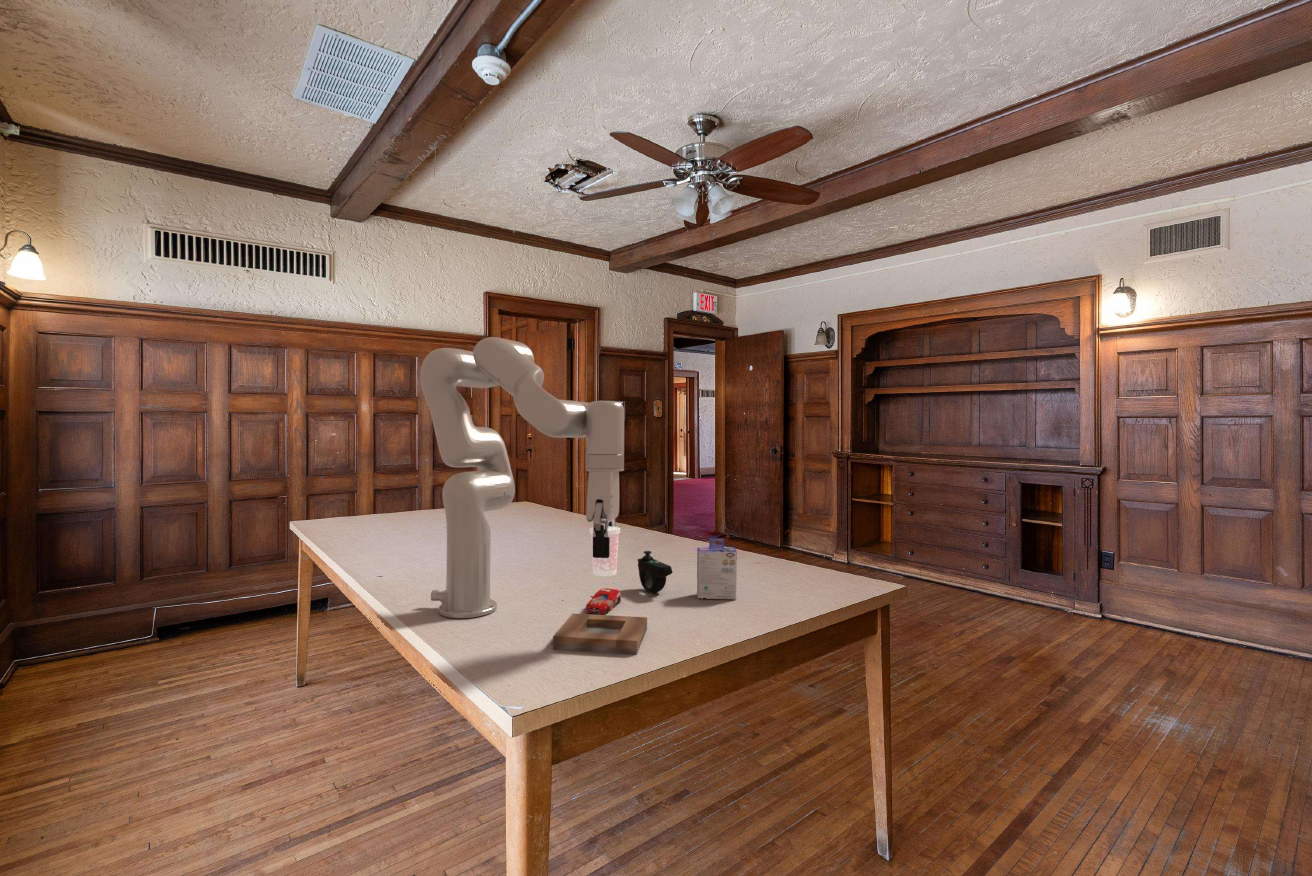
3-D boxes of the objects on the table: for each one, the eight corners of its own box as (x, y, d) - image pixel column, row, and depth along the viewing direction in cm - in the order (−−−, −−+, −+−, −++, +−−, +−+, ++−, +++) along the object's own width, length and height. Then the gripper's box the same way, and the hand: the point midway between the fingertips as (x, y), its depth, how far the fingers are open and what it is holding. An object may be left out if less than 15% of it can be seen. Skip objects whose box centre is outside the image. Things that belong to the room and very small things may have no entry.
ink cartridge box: (734, 594, 150) (735, 537, 150) (737, 600, 145) (738, 541, 145) (696, 593, 150) (697, 537, 150) (697, 599, 145) (698, 541, 145)
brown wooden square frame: (553, 649, 110) (553, 636, 110) (572, 625, 124) (572, 613, 124) (636, 654, 109) (637, 640, 109) (647, 629, 122) (647, 617, 122)
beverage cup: (613, 578, 112) (613, 505, 112) (584, 575, 114) (584, 504, 114) (624, 571, 118) (625, 502, 118) (597, 569, 120) (597, 500, 120)
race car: (604, 618, 131) (604, 600, 130) (582, 615, 132) (582, 598, 132) (624, 601, 143) (624, 585, 143) (603, 599, 145) (604, 583, 145)
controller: (648, 586, 157) (649, 548, 157) (674, 597, 146) (675, 557, 146) (634, 588, 155) (635, 550, 154) (659, 599, 144) (660, 559, 144)
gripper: (596, 461, 125) (595, 545, 125) (575, 465, 108) (575, 563, 108) (630, 461, 124) (630, 546, 124) (615, 465, 107) (615, 564, 107)
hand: (604, 553), depth 116 cm, fingers closed on beverage cup, 6 cm apart
